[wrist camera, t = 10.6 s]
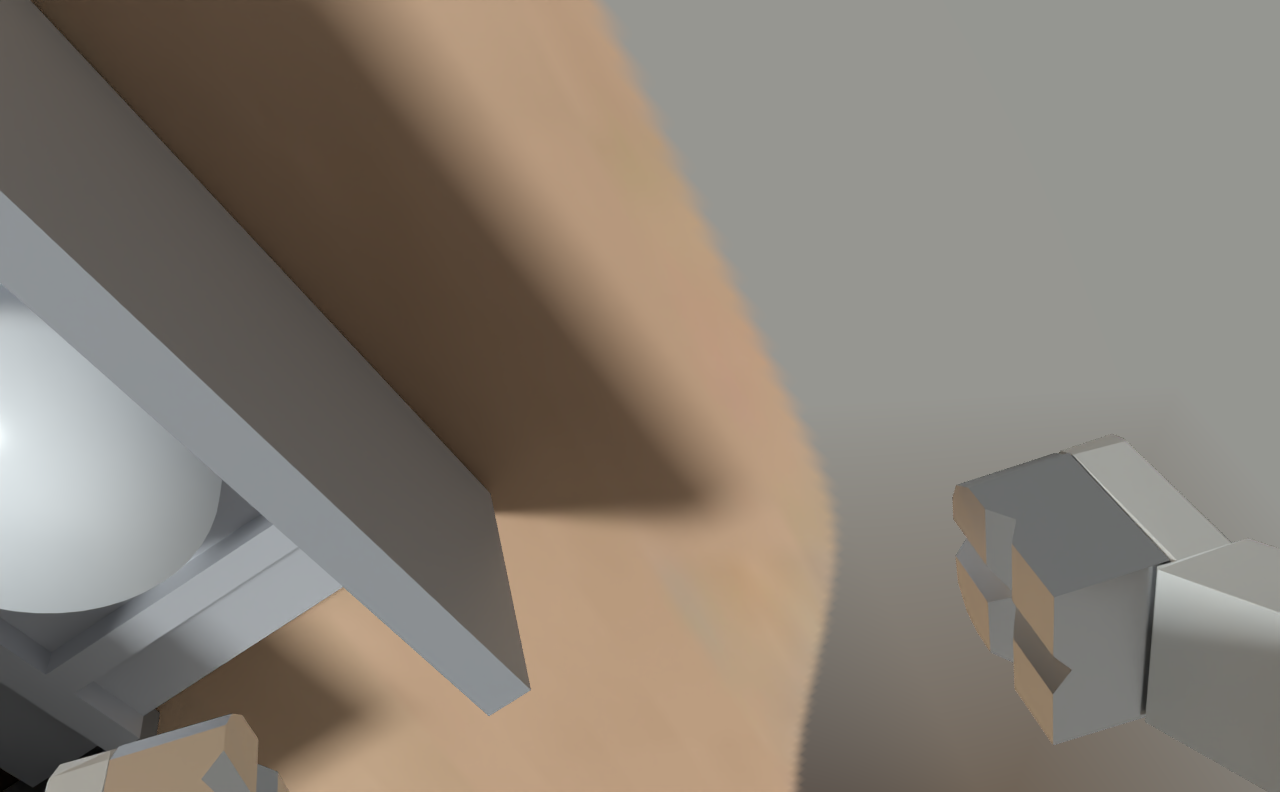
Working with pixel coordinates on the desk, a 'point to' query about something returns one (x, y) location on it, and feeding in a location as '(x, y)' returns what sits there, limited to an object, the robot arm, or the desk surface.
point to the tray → (218, 430)
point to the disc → (86, 480)
